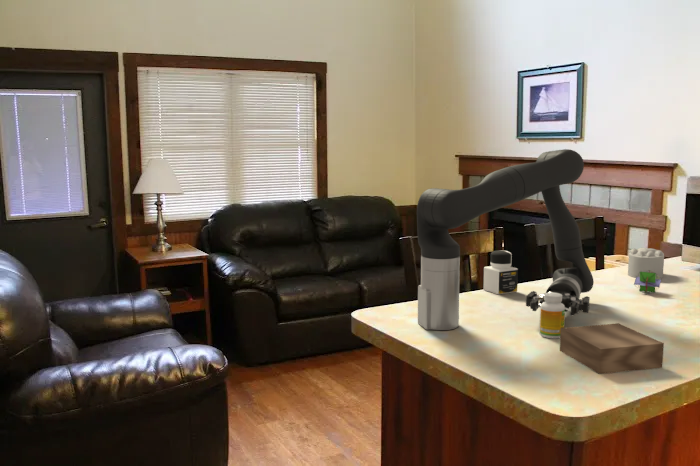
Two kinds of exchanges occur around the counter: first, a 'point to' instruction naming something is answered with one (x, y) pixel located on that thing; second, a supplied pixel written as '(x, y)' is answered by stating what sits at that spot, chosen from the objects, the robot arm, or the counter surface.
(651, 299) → the counter surface
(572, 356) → the walnut block
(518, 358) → the counter surface
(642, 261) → the lumpy-topped squat cylinder
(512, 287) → the medicine bottle
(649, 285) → the geometric puzzle
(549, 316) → the supplement bottle
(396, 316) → the counter surface
